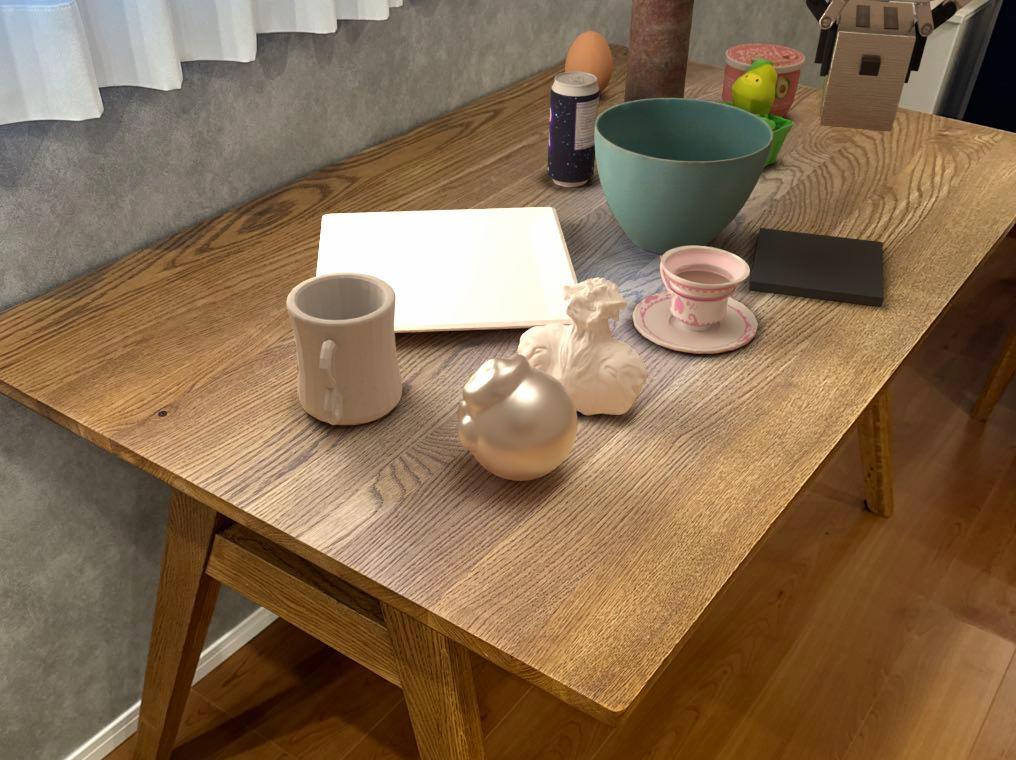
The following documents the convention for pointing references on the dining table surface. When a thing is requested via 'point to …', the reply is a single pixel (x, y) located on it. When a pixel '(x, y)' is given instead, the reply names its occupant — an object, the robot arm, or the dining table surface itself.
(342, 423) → the mug
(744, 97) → the fruit basket
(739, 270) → the teacup
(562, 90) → the beverage can
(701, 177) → the plant pot
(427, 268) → the plate
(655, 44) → the candle
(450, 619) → the dining table surface
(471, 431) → the cream glossy round piece
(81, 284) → the dining table surface
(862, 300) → the mat
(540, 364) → the bust
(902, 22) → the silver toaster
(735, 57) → the container
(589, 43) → the egg
